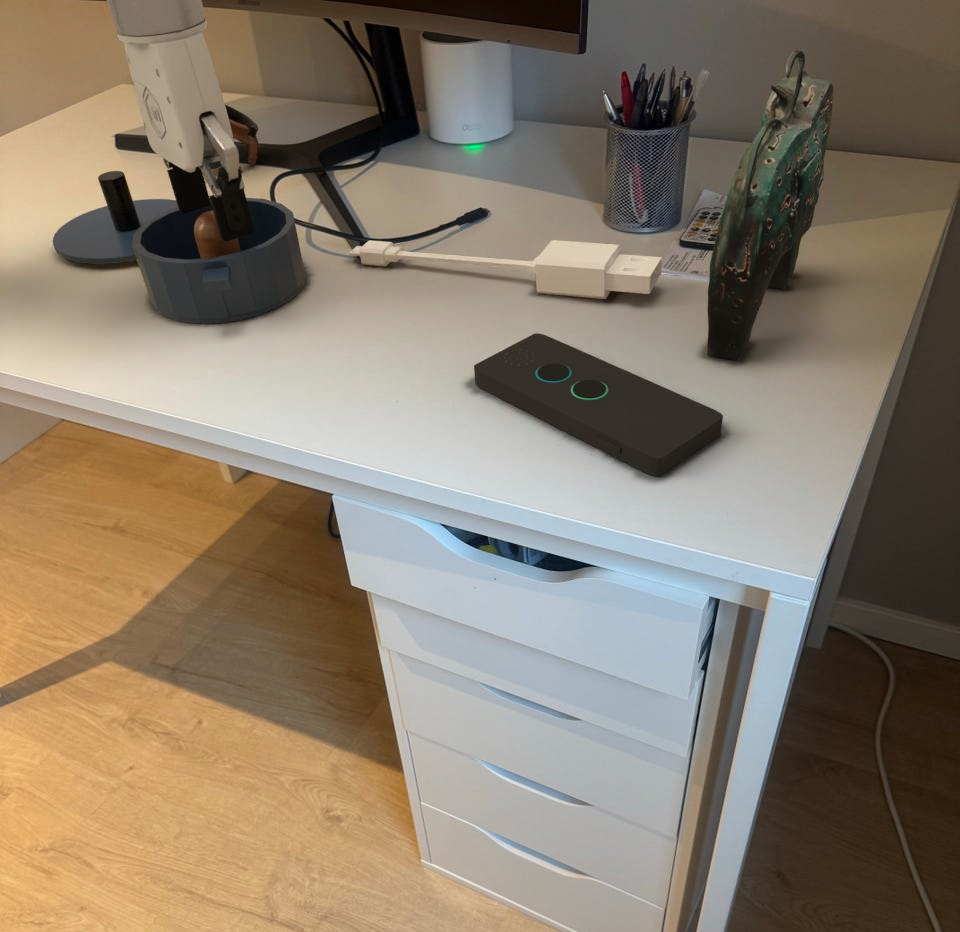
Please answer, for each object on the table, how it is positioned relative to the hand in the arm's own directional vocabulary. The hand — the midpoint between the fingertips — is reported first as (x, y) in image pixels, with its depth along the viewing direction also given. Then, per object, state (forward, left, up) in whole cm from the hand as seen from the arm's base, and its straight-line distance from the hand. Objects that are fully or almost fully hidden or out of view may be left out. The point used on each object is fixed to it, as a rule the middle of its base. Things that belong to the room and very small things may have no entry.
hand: (216, 222), depth 88 cm
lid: (-11, +17, -6) cm, 21 cm away
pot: (0, 0, -7) cm, 7 cm away
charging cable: (+27, -7, -7) cm, 28 cm away
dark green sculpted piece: (+47, -21, -7) cm, 52 cm away
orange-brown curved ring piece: (-1, +37, -7) cm, 38 cm away
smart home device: (+28, -32, -7) cm, 44 cm away
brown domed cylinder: (0, 0, -6) cm, 6 cm away
